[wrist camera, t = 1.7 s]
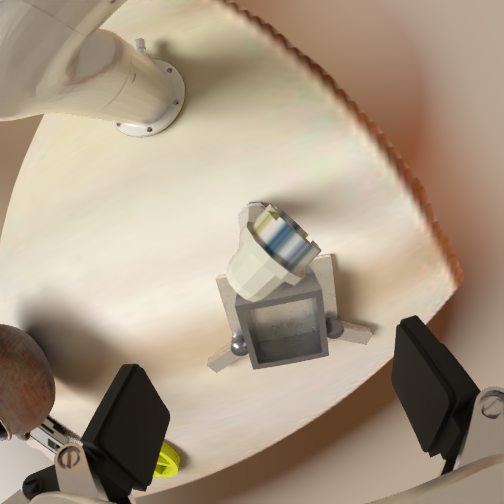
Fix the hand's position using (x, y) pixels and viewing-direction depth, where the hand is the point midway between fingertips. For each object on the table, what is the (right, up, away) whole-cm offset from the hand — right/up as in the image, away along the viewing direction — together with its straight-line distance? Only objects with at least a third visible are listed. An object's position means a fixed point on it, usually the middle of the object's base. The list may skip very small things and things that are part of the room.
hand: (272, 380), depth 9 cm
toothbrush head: (+1, +11, +32) cm, 33 cm away
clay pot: (-56, -20, +43) cm, 73 cm away
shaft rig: (+4, -5, +37) cm, 37 cm away
